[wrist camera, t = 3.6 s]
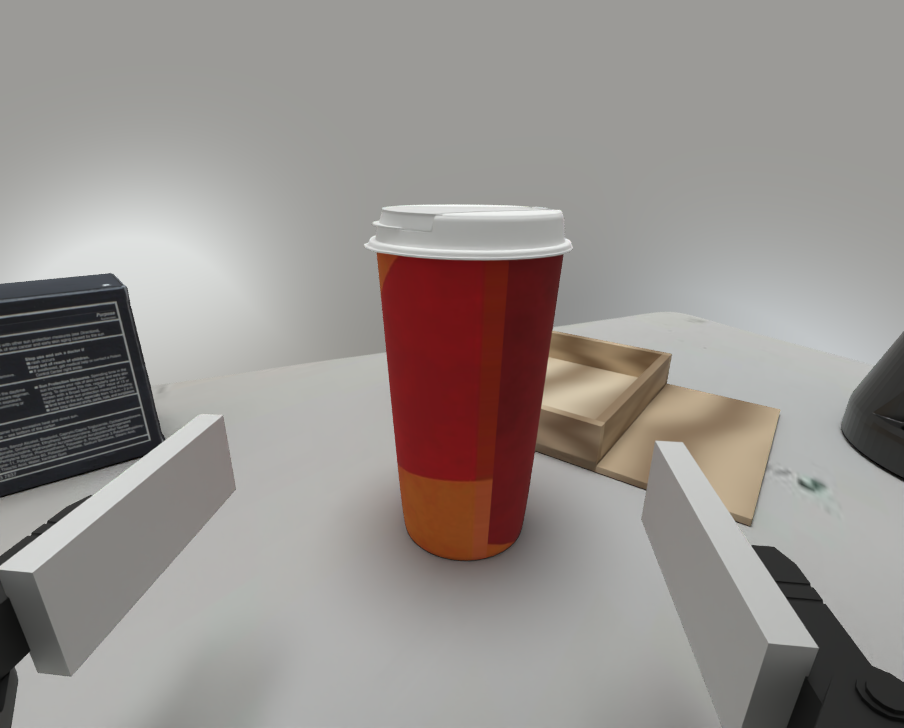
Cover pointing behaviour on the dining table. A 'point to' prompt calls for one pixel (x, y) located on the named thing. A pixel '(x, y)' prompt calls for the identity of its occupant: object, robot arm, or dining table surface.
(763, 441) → the box
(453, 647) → the dining table surface
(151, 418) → the small box
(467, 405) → the coffee cup
